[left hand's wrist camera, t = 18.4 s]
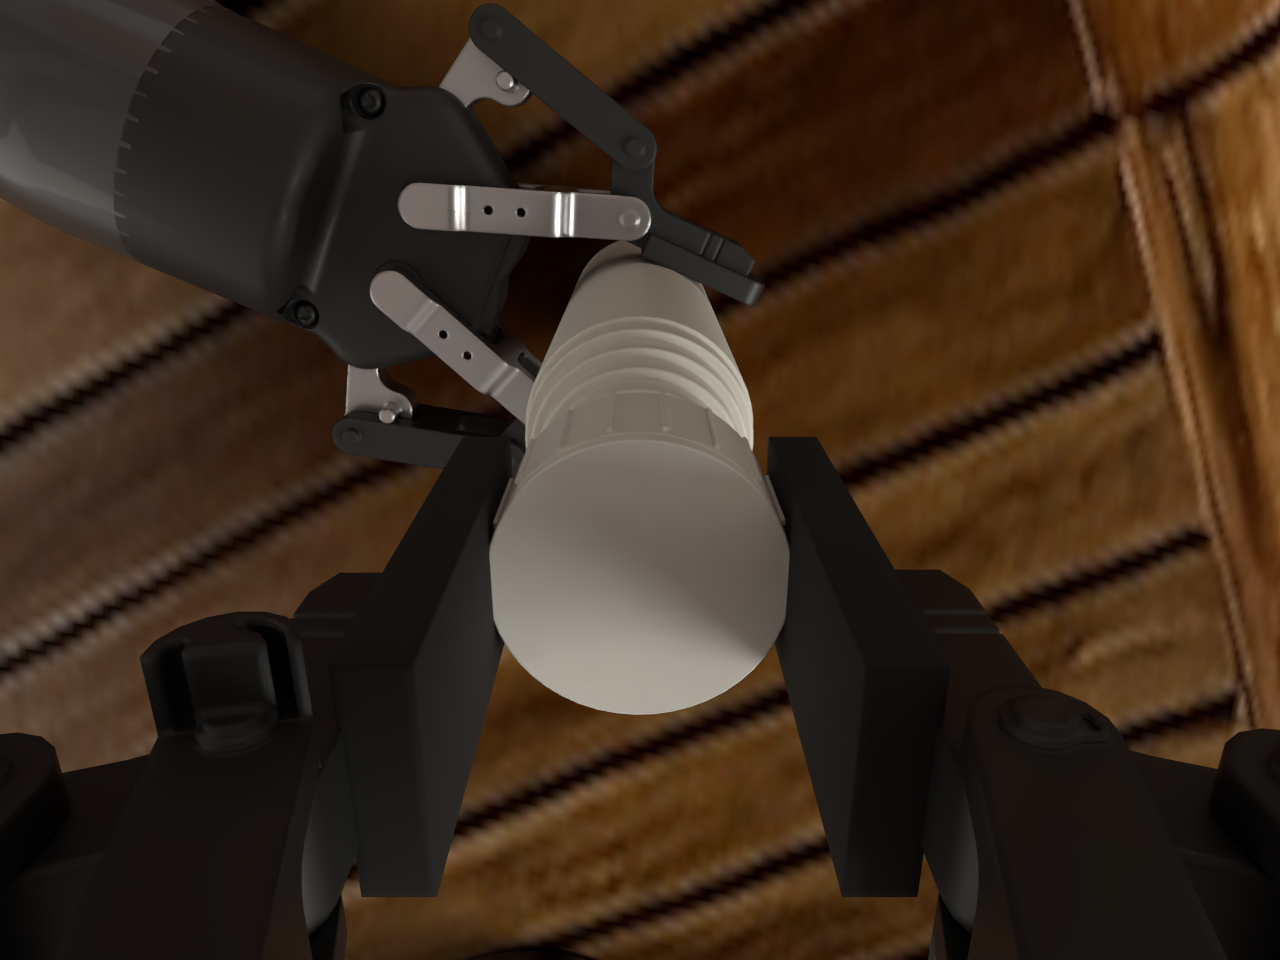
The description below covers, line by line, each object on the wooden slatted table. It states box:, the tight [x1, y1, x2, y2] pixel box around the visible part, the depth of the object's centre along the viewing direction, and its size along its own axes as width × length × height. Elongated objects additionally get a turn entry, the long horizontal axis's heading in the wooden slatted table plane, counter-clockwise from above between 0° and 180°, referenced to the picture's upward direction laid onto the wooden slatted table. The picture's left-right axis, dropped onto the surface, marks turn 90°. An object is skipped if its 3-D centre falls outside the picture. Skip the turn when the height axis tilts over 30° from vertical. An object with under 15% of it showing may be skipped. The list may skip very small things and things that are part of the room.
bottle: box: [525, 240, 753, 450], centre depth 23 cm, size 5×5×22 cm
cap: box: [489, 392, 790, 714], centre depth 13 cm, size 4×4×2 cm
